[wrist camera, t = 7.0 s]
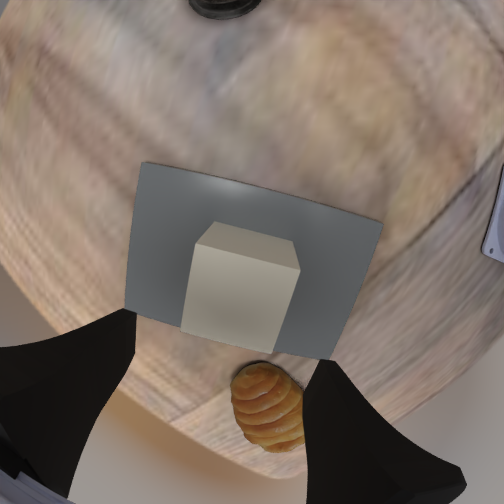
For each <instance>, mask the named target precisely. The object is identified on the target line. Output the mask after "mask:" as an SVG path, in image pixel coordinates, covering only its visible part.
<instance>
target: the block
mask: <svg viewBox="0 0 504 504" xmlns="http://www.w3.org/2000/svg"><path fill="white" fill-rule="evenodd" d="M300 271H301V270H300V266H299V263H298V259H297V255H296V252H295V248H294V245H293V241H289V240H285V239H281V238H278V237H274V236H270V235H266V234H262V233H259V232H255V231H251V230H247V229H243V228H239V227H235V226H231V225H227V224H223V223H219V222H215V221H214V222H213V224H212V225H211V226H210V227H209V228H208V229H207V231H206V232H205V233H204V234H203V235H202V236H201V237H200V239H199V240H198V241H197V242H196V243H195V248H194V253H193V259H192V264H191V269H190V275H189V280H188V286H187V292H186V298H185V303H184V309H183V316H182V322H181V328H180V331H181V332H184V333H188V334H191V335H195V336H198V337H202V338H206V339H209V340H213V341H217V342H221V343H225V344H229V345H233V346H237V347H241V348H245V349H250V350H254V351H258V352H263V353H267V354H272V351H273V348H274V345H275V343H276V340H277V337H278V335H279V332H280V329H281V326H282V323H283V321H284V318H285V315H286V312H287V309H288V306H289V303H290V300H291V298H292V295H293V292H294V289H295V286H296V283H297V280H298V277H299V274H300Z"/></svg>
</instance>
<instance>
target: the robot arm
mask: <svg viewBox="0 0 504 504" xmlns="http://www.w3.org/2000/svg"><path fill="white" fill-rule="evenodd" d="M490 249H491V251H490ZM482 253H483V254H485V255H487V256H489V257H491V258H494V259H496V260H498V261H500V262H502V263H504V168H503V173H502V178H501V182H500V187H499V191H498V195H497V199H496V203H495V207H494V211H493V214H492V218H491V221H490V225H489V228H488V231H487V234H486V237H485V240H484V243H483V246H482ZM136 320H137V313H136V312H133V311H130V310H127V309H124V308H122V309H120V310H117V311H115V312H113V313H111V314H109V315H107V316H105V317H102V318H100V319H98V320H96V321H94V322H92V323H89V324H87V325H85V326H83V327H80V328H78V329H75V330H73V331H70V332H68V333H65V334H63V335H60V336H57V337H53V338H50V339H46V340H43V341H39V342H35V343H29V344H24V345H18V346H10V347H0V504H75V503H73V502H71V501H69V500H67V498H68V495H69V491H70V487H71V484H72V480H73V477H74V474H75V471H76V468H77V465H78V462H79V459H80V456H81V454H82V451H83V449H84V446H85V444H86V441H87V439H88V437H89V434H90V432H91V430H92V428H93V426H94V423H95V421H96V419H97V417H98V416H99V414H100V412H101V410H102V409H103V407H104V406H105V404H106V403H107V401H108V399H109V398H110V396H111V395H112V393H113V392H114V390H115V389H116V387H117V386H118V384H119V383H120V381H121V380H122V378H123V376H124V375H125V373H126V371H127V369H128V367H129V365H130V363H131V361H132V359H133V357H134V354H135V341H136ZM302 419H303V428H304V437H305V446H306V454H307V466H308V482H307V500H306V504H449V503H450V502H452V501H453V500H454V499H456V498H457V497H458V496H459V495H460V494H461V493H462V492H463V491H464V490H465V488H466V486H467V483H466V481H465V478H464V476H463V473H462V471H461V469H460V467H458V466H456V465H454V464H451V463H449V462H447V461H444V460H442V459H440V458H438V457H436V456H434V455H432V454H431V453H429V452H427V451H425V450H423V449H422V448H420V447H419V446H417V445H416V444H414V443H413V442H412V441H410V440H409V439H407V438H406V437H405V436H403V435H402V434H401V433H400V432H398V431H397V430H396V429H395V428H394V427H393V426H392V425H390V424H389V423H388V422H387V421H386V420H385V419H384V418H383V417H382V416H381V415H380V414H379V413H378V412H377V411H376V410H375V409H374V408H373V407H372V406H371V405H370V403H369V402H368V401H367V400H366V399H365V398H364V396H363V395H362V394H361V393H360V392H359V390H358V389H357V388H356V387H355V385H354V384H353V383H352V382H351V380H350V379H349V378H348V376H347V375H346V374H345V373H344V371H343V370H342V369H341V368H340V366H339V365H338V364H337V363H336V362H335V361H332V360H326V359H320V361H319V363H318V365H317V367H316V369H315V371H314V373H313V375H312V377H311V379H310V381H309V383H308V385H307V387H306V389H305V391H304V393H303V402H302Z"/></svg>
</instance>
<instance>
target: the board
mask: <svg viewBox="0 0 504 504" xmlns="http://www.w3.org/2000/svg"><path fill="white" fill-rule="evenodd" d="M214 221H215V222H219V223H223V224H227V225H231V226H235V227H239V228H243V229H247V230H251V231H255V232H259V233H262V234H266V235H270V236H274V237H278V238H281V239H285V240H289V241H293V245H294V248H295V252H296V255H297V259H298V263H299V266H300V270H301V271H300V274H299V277H298V280H297V283H296V286H295V289H294V292H293V295H292V298H291V300H290V303H289V306H288V309H287V312H286V315H285V318H284V321H283V323H282V326H281V329H280V332H279V335H278V337H277V340H276V343H275V345H274V348H273V351H277V352H282V353H287V354H292V355H297V356H302V357H308V358H313V359H319V360H320V359H326V360H329V358H330V356H331V354H332V352H333V350H334V348H335V346H336V344H337V342H338V339H339V337H340V335H341V333H342V331H343V328H344V326H345V324H346V322H347V319H348V317H349V315H350V312H351V310H352V308H353V305H354V303H355V301H356V298H357V296H358V293H359V291H360V288H361V286H362V283H363V281H364V278H365V275H366V273H367V270H368V267H369V265H370V262H371V259H372V257H373V254H374V251H375V248H376V245H377V242H378V240H379V237H380V234H381V231H382V228H383V225H384V224H383V223H381V222H379V221H376V220H373V219H370V218H367V217H364V216H361V215H358V214H355V213H351V212H348V211H345V210H342V209H338V208H335V207H332V206H328V205H325V204H322V203H318V202H315V201H311V200H308V199H304V198H301V197H297V196H293V195H290V194H286V193H282V192H278V191H275V190H271V189H267V188H263V187H259V186H255V185H251V184H247V183H243V182H239V181H235V180H231V179H226V178H222V177H218V176H213V175H209V174H204V173H200V172H195V171H190V170H186V169H181V168H176V167H171V166H166V165H161V164H156V163H150V162H142V163H141V169H140V174H139V180H138V185H137V191H136V198H135V204H134V211H133V218H132V226H131V234H130V243H129V252H128V263H127V275H126V290H125V309H127V310H130V311H133V312H136V313H137V314H138V315H141V316H144V317H147V318H150V319H154V320H157V321H160V322H163V323H167V324H170V325H173V326H177V327H180V328H181V322H182V316H183V309H184V303H185V298H186V292H187V286H188V280H189V275H190V269H191V264H192V259H193V253H194V248H195V243H196V242H197V241H198V240H199V239H200V237H201V236H202V235H203V234H204V233H205V232H206V231H207V229H208V228H209V227H210V226H211V225H212V224H213V222H214Z"/></svg>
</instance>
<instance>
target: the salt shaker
mask: <svg viewBox="0 0 504 504" xmlns="http://www.w3.org/2000/svg"><path fill="white" fill-rule="evenodd" d="M260 2H261V0H189V3H190V5H191V7H192V8H193V10H194V11H196V12H197V13H198V14H200V15H202V16H204V17H207V18H211V19H218V20H219V19H231V18H236V17H239V16H242V15H244V14H247V13H248V12H250V11H251V10H253V9H254V8H256V7H257V5H258V4H259V3H260Z"/></svg>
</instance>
